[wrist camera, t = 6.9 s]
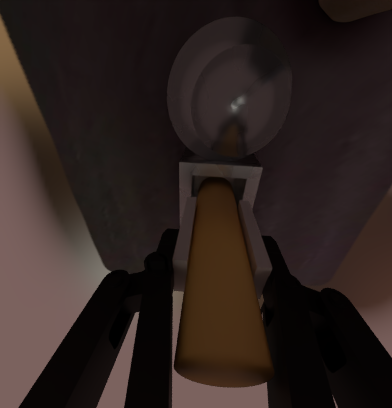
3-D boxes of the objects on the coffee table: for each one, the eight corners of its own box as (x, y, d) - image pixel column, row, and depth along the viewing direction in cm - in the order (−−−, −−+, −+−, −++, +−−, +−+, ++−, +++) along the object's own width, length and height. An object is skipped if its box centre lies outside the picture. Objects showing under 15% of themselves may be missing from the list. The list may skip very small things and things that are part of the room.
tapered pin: (194, 179, 18) (160, 351, 6) (230, 173, 17) (274, 351, 5) (202, 208, 19) (187, 385, 8) (234, 204, 19) (274, 388, 7)
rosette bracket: (233, 245, 30) (247, 342, 18) (181, 241, 31) (163, 333, 19) (275, 46, 16) (439, -77, 5) (180, 43, 17) (107, -78, 5)
